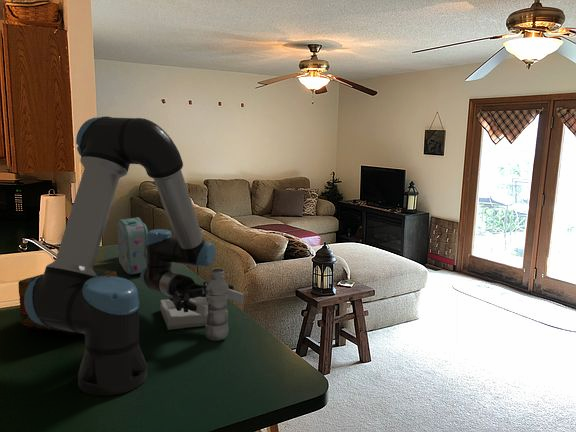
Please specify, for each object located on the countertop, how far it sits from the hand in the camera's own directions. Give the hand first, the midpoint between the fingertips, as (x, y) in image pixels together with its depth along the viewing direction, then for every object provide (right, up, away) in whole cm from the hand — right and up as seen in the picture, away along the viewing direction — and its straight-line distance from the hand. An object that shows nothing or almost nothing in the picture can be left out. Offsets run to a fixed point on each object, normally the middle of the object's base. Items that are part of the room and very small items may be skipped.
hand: (225, 304), depth 129 cm
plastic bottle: (-3, -11, +4) cm, 12 cm away
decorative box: (-46, -8, +9) cm, 48 cm away
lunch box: (-47, +2, +67) cm, 82 cm away
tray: (-13, -7, +19) cm, 24 cm away
